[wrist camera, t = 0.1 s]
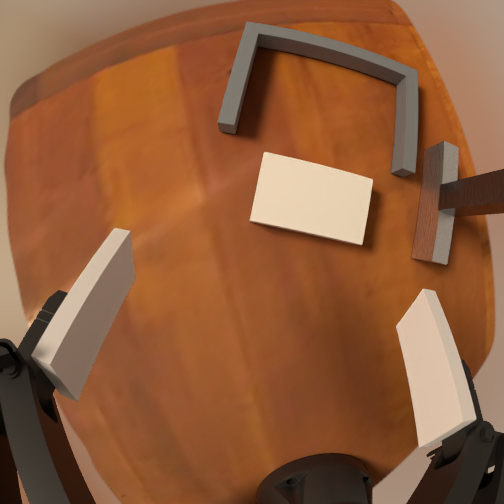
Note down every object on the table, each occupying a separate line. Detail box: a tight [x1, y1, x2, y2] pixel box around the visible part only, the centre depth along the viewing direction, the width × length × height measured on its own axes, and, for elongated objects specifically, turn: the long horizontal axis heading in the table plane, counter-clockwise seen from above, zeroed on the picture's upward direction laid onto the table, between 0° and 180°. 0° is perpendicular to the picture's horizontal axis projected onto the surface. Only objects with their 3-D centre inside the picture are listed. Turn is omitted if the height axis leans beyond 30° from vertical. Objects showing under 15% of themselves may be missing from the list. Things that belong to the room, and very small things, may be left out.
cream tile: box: [250, 152, 373, 245], centre depth 26 cm, size 6×10×3 cm, turn 78°
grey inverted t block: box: [411, 141, 504, 265], centre depth 21 cm, size 12×2×14 cm, turn 169°
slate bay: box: [218, 22, 418, 177], centre depth 26 cm, size 12×19×2 cm, turn 79°
